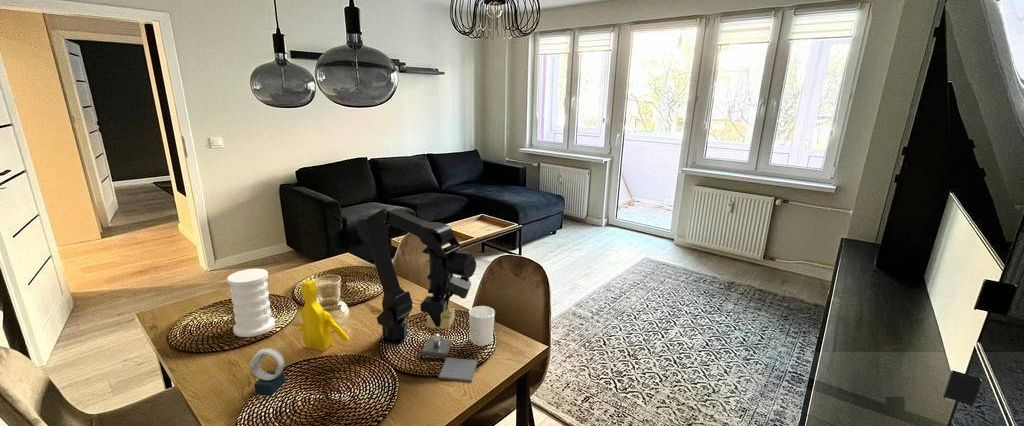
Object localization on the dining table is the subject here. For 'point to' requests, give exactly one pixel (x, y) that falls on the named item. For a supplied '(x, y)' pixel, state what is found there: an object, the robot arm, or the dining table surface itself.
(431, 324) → the square hollow block
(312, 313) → the figure statuette
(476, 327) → the white cup
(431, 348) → the grey peg base
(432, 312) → the robot arm
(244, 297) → the decorative container
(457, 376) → the felt coaster
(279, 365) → the white ring sculpture
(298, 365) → the dining table surface
